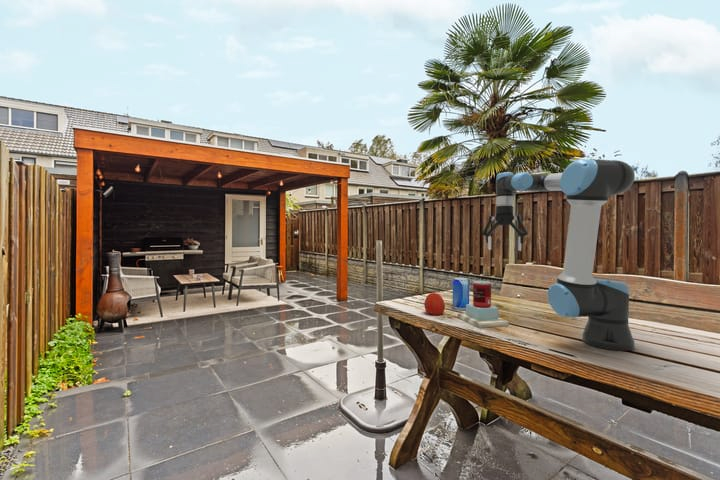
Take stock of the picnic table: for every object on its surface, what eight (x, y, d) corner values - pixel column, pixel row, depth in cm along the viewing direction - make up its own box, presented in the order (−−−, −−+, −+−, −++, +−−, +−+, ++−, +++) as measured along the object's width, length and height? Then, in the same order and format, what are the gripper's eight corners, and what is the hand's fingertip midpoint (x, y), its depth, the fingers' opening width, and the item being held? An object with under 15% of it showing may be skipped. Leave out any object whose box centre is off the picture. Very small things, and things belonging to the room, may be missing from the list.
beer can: (449, 307, 180) (449, 277, 180) (462, 306, 183) (463, 277, 182) (458, 311, 172) (458, 280, 172) (472, 309, 175) (472, 279, 174)
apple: (421, 311, 172) (421, 291, 172) (441, 311, 173) (441, 290, 172) (426, 316, 162) (426, 294, 162) (447, 316, 162) (447, 294, 162)
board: (508, 325, 145) (508, 321, 145) (479, 328, 142) (479, 323, 142) (483, 315, 162) (483, 311, 162) (457, 317, 159) (457, 313, 159)
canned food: (488, 304, 156) (488, 280, 155) (493, 308, 148) (493, 283, 147) (471, 304, 156) (471, 280, 156) (475, 307, 148) (475, 283, 148)
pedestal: (498, 319, 148) (498, 307, 148) (478, 320, 146) (478, 309, 146) (485, 313, 158) (485, 303, 158) (465, 315, 156) (465, 304, 156)
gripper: (535, 204, 156) (534, 250, 156) (480, 207, 171) (480, 249, 171) (532, 203, 150) (531, 251, 150) (475, 206, 165) (475, 249, 165)
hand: (504, 250), depth 161 cm, fingers open, 13 cm apart
